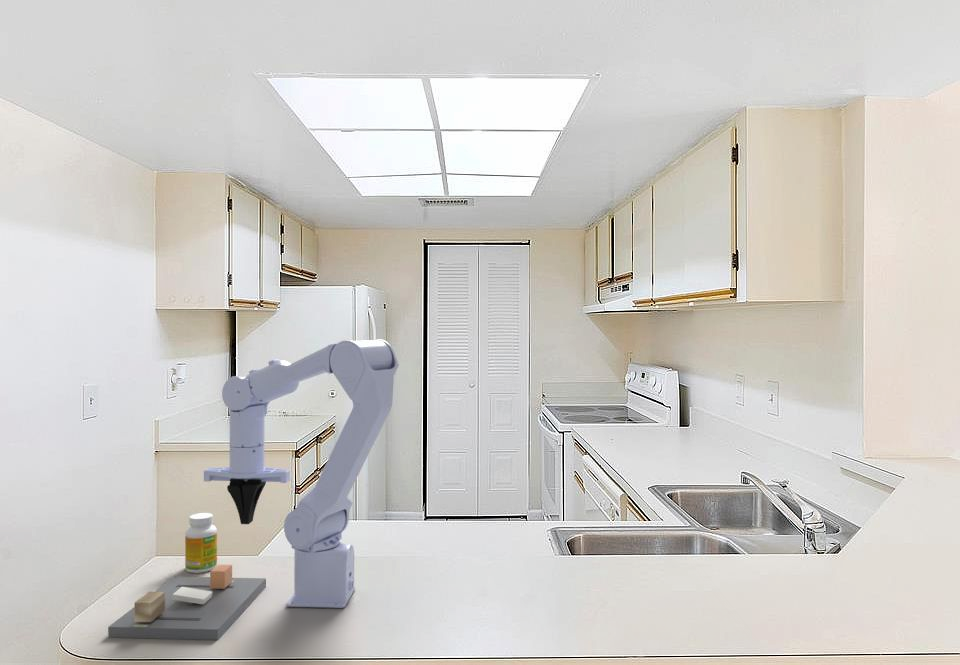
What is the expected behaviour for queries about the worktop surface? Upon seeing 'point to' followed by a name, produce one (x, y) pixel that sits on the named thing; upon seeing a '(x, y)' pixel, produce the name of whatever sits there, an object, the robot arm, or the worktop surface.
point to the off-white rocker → (192, 595)
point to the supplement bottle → (201, 544)
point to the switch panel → (193, 611)
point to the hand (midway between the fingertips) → (246, 522)
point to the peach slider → (221, 576)
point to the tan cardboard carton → (149, 606)
